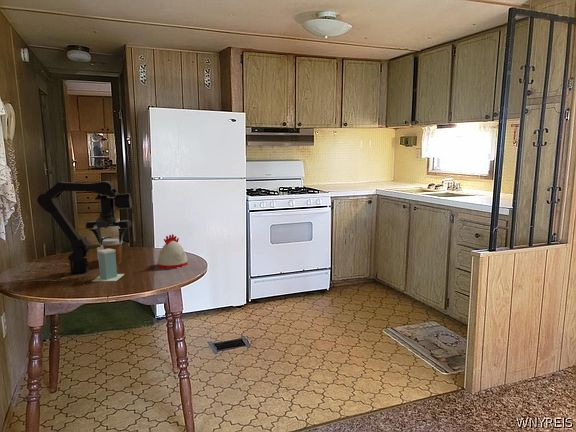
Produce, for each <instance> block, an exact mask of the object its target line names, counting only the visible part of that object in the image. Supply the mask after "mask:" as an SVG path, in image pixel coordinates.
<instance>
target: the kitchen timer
mask: <svg viewBox="0 0 576 432" xmlns="http://www.w3.org/2000/svg"><path fill="white" fill-rule="evenodd" d="M168 235H169V236H168ZM168 235H166V236H165V238H163V242H164V243H165V244H164V245H163V246H162V247H161V250H160V251H159V253H158V258H157V267H158V268H159V267H160V268H159V269H163V268H175V269H178V268H177V267H181V268H183V267H182V266H184V267H186V266H188V265H189V264H188V263H189V261H188V256H187V254H186V251H185V249H184V247H183V246H182V245H181V244H180V243H179V239H180V237H177V236H176V235H174V234H168ZM185 265H186V266H185Z"/></svg>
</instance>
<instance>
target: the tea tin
mask: <svg viewBox="0 0 576 432" xmlns="http://www.w3.org/2000/svg"><path fill="white" fill-rule="evenodd" d="M115 252H116V250H114V249H109V248H108V249H103V250H98V254H97V260H98V259H99V261H98V271H99V276H100V278H102V279H106V280H108V279H111V278H115V277H117V274H118V272H117V271H118V270H117V268H118V267H117V264H116V253H115Z"/></svg>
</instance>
